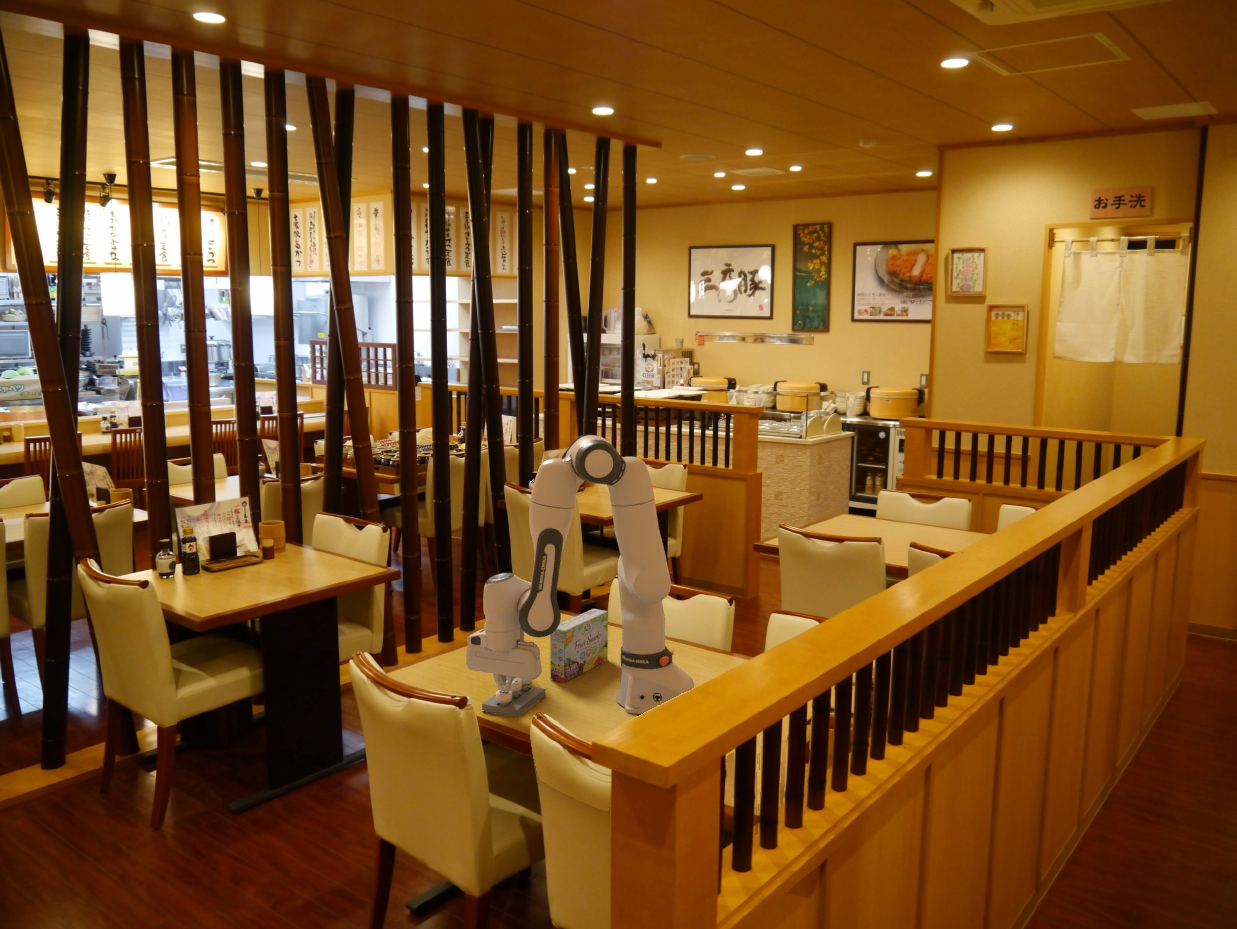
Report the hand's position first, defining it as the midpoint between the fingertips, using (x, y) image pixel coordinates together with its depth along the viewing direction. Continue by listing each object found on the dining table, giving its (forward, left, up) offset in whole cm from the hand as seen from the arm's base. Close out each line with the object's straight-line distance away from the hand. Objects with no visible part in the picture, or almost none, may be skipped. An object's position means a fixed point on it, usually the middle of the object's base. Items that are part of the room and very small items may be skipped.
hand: (504, 690), depth 240 cm
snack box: (-5, -33, -6) cm, 34 cm away
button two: (0, -5, -4) cm, 6 cm away
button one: (0, -10, -4) cm, 10 cm away
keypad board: (0, -5, -5) cm, 7 cm away
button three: (0, 0, -5) cm, 5 cm away
